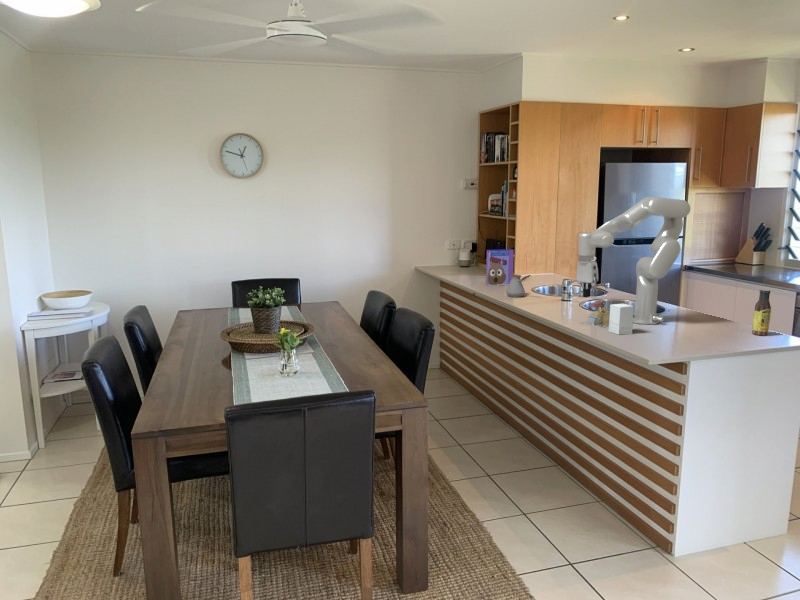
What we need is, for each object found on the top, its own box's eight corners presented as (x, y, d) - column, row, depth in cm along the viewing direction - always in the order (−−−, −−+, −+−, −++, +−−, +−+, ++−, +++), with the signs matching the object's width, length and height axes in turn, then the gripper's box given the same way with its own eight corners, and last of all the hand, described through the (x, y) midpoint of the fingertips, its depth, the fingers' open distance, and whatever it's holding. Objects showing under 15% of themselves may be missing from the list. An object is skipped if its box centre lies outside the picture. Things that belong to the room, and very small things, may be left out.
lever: (600, 306, 290) (600, 300, 290) (606, 306, 288) (606, 300, 288) (588, 310, 281) (588, 303, 280) (594, 310, 279) (595, 304, 278)
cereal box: (488, 285, 404) (489, 250, 400) (486, 284, 408) (486, 249, 404) (512, 284, 408) (513, 249, 404) (509, 283, 412) (510, 248, 408)
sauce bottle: (761, 336, 261) (766, 291, 257) (748, 333, 266) (752, 289, 263) (771, 335, 263) (776, 290, 260) (758, 332, 269) (762, 288, 265)
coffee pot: (502, 295, 366) (502, 271, 364) (518, 294, 370) (519, 270, 368) (521, 301, 347) (521, 275, 344) (538, 300, 351) (539, 274, 348)
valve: (623, 321, 291) (624, 306, 290) (601, 327, 279) (602, 311, 278) (601, 318, 300) (601, 303, 299) (579, 323, 288) (579, 308, 287)
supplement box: (632, 333, 267) (634, 306, 265) (618, 335, 265) (620, 307, 263) (622, 330, 274) (623, 303, 272) (608, 331, 272) (609, 304, 270)
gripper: (604, 259, 280) (604, 297, 283) (580, 256, 292) (580, 293, 296) (593, 260, 276) (593, 299, 279) (569, 258, 289) (569, 296, 292)
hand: (586, 296), depth 288 cm, fingers closed
